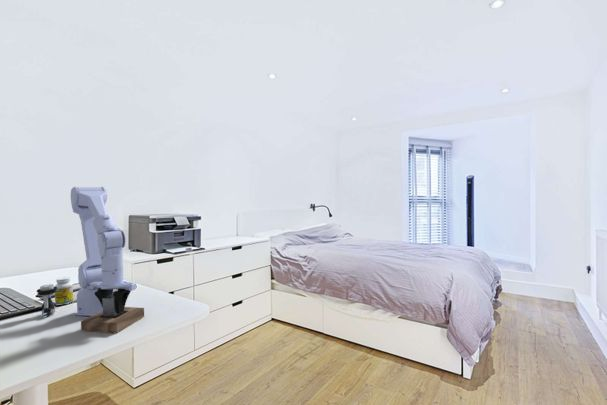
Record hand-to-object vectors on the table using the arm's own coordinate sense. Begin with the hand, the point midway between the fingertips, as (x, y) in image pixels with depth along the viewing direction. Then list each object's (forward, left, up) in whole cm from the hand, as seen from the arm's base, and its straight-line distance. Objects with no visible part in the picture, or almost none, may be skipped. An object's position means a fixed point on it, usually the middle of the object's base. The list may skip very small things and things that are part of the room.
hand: (114, 312), depth 97 cm
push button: (-28, +3, -4) cm, 28 cm away
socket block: (0, 0, -4) cm, 4 cm away
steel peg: (0, 0, -2) cm, 2 cm away
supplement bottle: (-33, +14, -4) cm, 36 cm away
